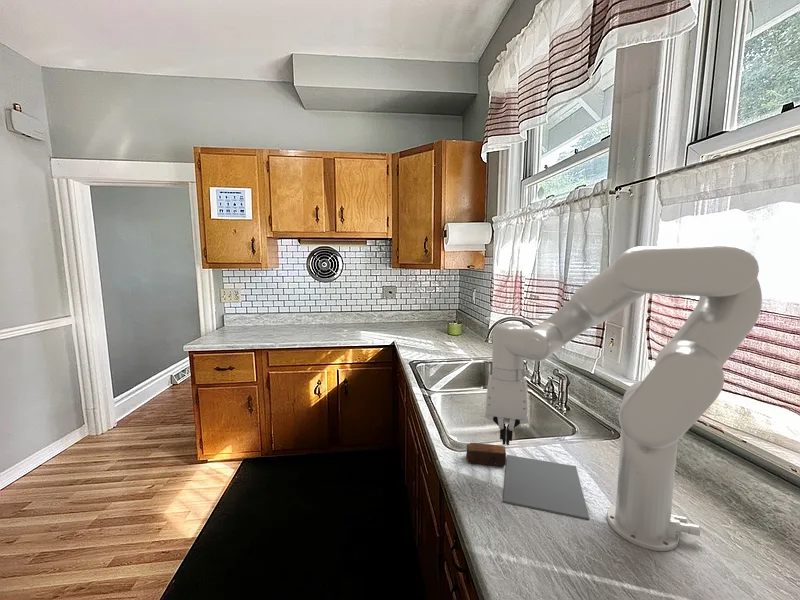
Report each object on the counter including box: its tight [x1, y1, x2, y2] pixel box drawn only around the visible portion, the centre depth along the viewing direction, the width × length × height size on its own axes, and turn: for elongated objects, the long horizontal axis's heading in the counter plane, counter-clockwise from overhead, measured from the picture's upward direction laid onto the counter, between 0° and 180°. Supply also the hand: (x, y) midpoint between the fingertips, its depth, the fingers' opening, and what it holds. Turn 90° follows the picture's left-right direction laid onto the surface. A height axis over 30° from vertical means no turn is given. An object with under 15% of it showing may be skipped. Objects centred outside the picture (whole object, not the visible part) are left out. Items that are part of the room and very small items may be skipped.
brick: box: [465, 442, 507, 467], centre depth 101 cm, size 11×4×5 cm
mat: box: [502, 454, 590, 521], centre depth 91 cm, size 18×21×1 cm
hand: (505, 442), depth 92 cm, fingers closed
